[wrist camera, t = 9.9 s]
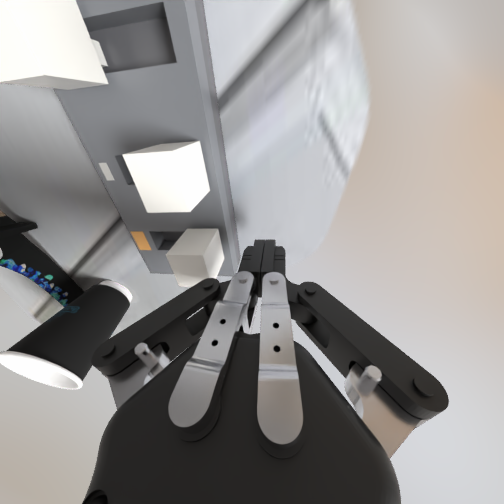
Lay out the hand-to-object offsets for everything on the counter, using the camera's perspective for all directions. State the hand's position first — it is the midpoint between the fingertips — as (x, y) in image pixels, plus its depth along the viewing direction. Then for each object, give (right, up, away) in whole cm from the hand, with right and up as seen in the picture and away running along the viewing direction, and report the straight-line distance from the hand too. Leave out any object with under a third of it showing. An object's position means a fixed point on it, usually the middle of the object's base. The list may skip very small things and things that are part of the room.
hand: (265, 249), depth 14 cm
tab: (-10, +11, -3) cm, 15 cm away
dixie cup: (-21, -6, +14) cm, 26 cm away
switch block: (-8, +7, +1) cm, 11 cm away
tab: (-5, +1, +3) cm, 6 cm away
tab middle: (-5, +6, -1) cm, 8 cm away
